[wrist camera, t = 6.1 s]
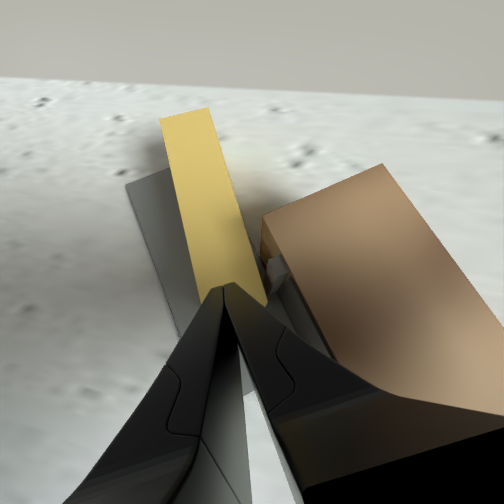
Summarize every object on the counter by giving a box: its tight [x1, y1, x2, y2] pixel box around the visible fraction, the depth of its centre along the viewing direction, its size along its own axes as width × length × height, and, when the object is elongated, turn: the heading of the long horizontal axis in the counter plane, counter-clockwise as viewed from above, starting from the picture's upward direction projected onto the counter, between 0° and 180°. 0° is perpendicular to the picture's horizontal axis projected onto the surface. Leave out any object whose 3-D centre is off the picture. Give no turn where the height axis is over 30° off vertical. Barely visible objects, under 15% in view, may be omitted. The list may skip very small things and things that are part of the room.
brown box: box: [260, 163, 504, 416], centre depth 13 cm, size 10×7×6 cm, turn 25°
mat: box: [126, 168, 296, 396], centre depth 16 cm, size 16×6×1 cm, turn 25°
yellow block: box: [159, 107, 268, 307], centre depth 15 cm, size 4×3×12 cm
